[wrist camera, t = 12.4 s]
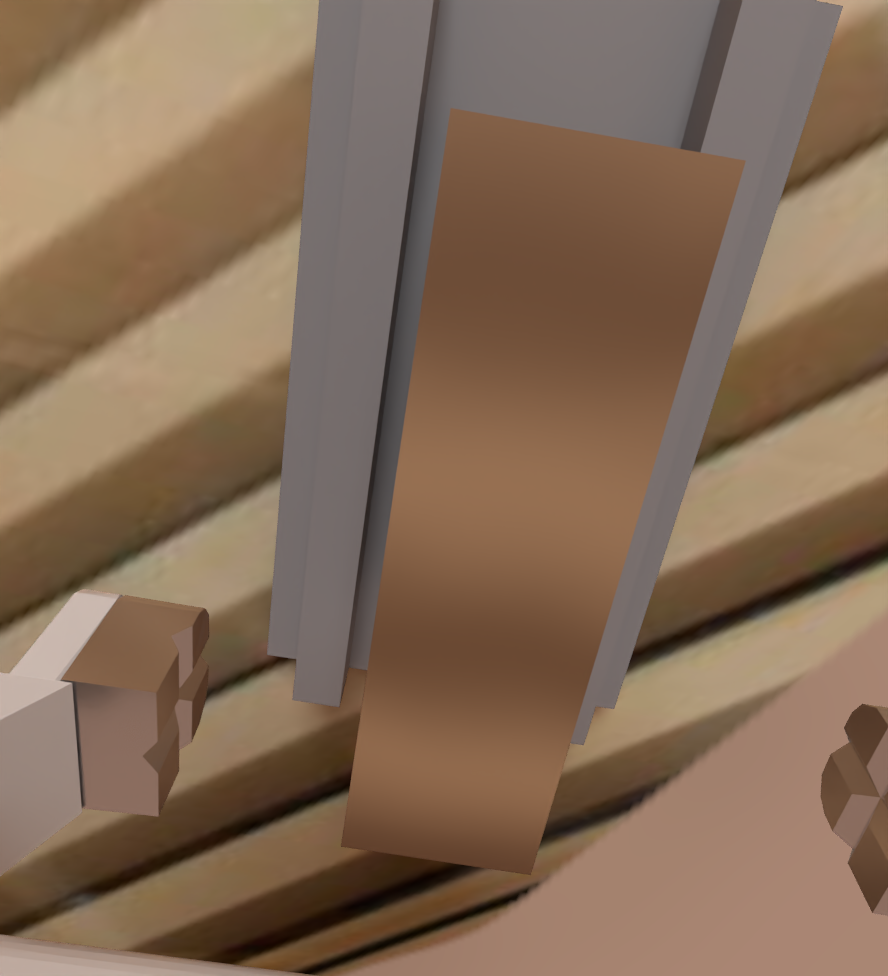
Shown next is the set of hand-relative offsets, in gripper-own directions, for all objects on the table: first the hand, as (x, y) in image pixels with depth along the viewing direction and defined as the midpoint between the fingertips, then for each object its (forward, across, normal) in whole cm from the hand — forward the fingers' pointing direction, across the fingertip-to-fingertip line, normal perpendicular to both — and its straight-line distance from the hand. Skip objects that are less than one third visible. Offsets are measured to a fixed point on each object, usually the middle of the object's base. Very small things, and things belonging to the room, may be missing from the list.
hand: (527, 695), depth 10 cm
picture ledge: (+15, 0, +1) cm, 15 cm away
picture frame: (+14, 0, +1) cm, 14 cm away
